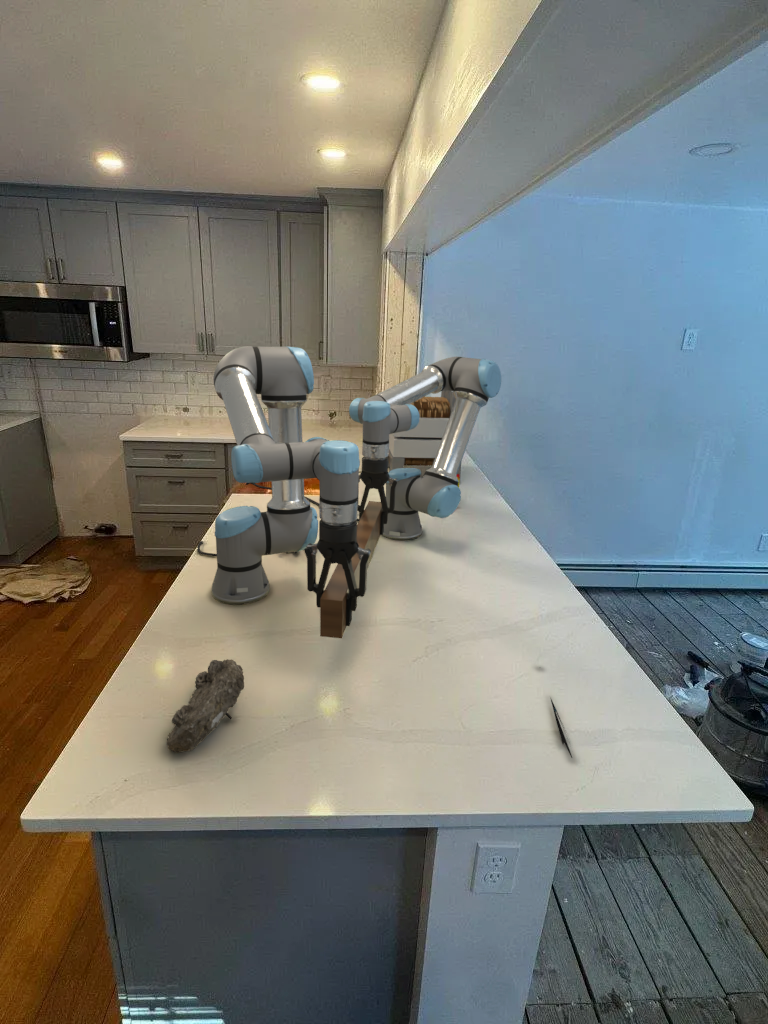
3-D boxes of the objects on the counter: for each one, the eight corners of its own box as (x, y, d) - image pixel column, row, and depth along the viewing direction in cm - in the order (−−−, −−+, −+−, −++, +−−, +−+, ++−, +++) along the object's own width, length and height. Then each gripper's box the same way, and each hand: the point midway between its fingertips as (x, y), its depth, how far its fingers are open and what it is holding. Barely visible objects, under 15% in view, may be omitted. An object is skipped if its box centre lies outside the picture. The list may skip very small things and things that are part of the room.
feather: (540, 672, 128) (545, 666, 127) (572, 762, 101) (579, 755, 101) (533, 668, 128) (539, 662, 127) (564, 758, 101) (571, 750, 100)
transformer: (382, 463, 289) (386, 382, 275) (445, 464, 293) (451, 384, 279) (390, 482, 257) (394, 392, 243) (460, 483, 261) (468, 394, 247)
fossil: (192, 660, 117) (244, 628, 112) (224, 691, 120) (276, 661, 115) (142, 746, 98) (202, 712, 93) (182, 779, 101) (242, 748, 96)
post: (368, 527, 174) (368, 500, 171) (382, 528, 174) (383, 502, 171) (320, 636, 116) (320, 598, 113) (342, 638, 116) (342, 600, 113)
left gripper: (289, 522, 110) (291, 626, 118) (379, 530, 108) (374, 635, 116) (299, 509, 117) (300, 608, 125) (384, 516, 115) (379, 616, 123)
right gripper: (342, 458, 158) (341, 535, 166) (404, 462, 156) (401, 540, 165) (347, 451, 165) (346, 525, 173) (407, 455, 163) (403, 530, 171)
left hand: (336, 621), depth 121 cm, fingers closed on post, 5 cm apart
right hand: (372, 532), depth 169 cm, fingers closed on post, 5 cm apart
